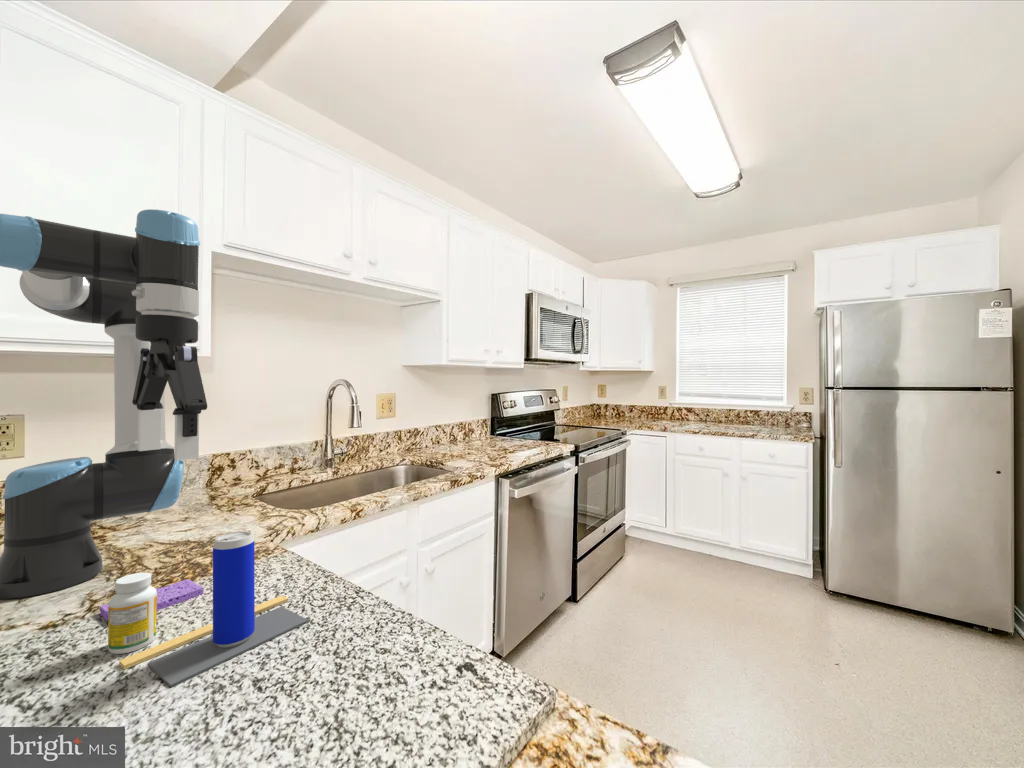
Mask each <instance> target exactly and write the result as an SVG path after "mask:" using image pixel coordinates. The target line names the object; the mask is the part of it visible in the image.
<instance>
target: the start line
mask: <svg viewBox="0 0 1024 768" xmlns="http://www.w3.org/2000/svg"><path fill="white" fill-rule="evenodd" d="M287 602H289V597H286V596H284V595H283V594H282V595H279V596H276V597H274V598H272V599H270V600H267V601H265V602H262V603H259V604H257V605H255V615H259V614H260V613H263V612H265V611H268V610H270V609H272V608H274V607H277V606H278V607H279V605H282V604H285V603H287ZM210 634H213V622H212V623H210V624H206V625H205V626H203V627H200V628H197V629H194V630H192V631H190V632H188V633H184V634H182V635H180V636H177V637H175V638H172V639H170V640H167V641H165V642H163V643H159V644H158V645H155V646H153V647H150V648H147V649H145V650H142V651H140V652H138V653H135V654H132V655H130V656H127V657H125V658H123V659H120V660H119V665H120V666H121V668H122V669H123V670H127V669H129V668H131V667H134V666H136V665H139V664H141V663H143V662H146V661H149V660H150V659H153V658H155V657H158V656H160V655H164V654H165V653H167V652H169V651H173V650H175V649H177V648H179V647H181V646H184V645H186V644H188V643H192V642H193V641H196V640H198V639H200V638H203V637H206V636H207V635H210Z"/></svg>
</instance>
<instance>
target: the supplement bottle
mask: <svg viewBox="0 0 1024 768" xmlns="http://www.w3.org/2000/svg"><path fill="white" fill-rule="evenodd" d="M114 582H115V583H114V592H115V594H114V595H113V596H112V597H111V598H110V599H109V600H108V604H109V605H108V620H107V622H108V624H107V625H108V626H107V629H108V630H107V632H108V633H107V635H108V636H107V637H108V638H107V644H108V645H107V647H108V652H109V653H111V654H114V655H122V654H124V655H125V654H128V653H132V652H135V651H139V650H140V649H143V648H145V647H147V646H148V645H150V644H151V643H152V642H153V641H155V639H156V637H157V618H158V617H157V616H158V615H157V613H158V610H157V591H156V589H157V588H155V587H154V586H152V585H151V584H152V573H150V572H137V573H131V574H127V575H125V576H122V577H120V578H118V579H116V581H114Z"/></svg>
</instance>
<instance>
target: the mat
mask: <svg viewBox="0 0 1024 768" xmlns="http://www.w3.org/2000/svg"><path fill="white" fill-rule="evenodd" d="M308 622H309V619H308V618H305V617H303V616H301V615H300V614H297V613H295V612H293V611H291V610H289V609H287V608H286V607H283V606H278V607H277V608H274V609H272V610H269V611H267V612H265V613H263V614H261V615H258V616H256V617H255V630H254V632H253V634H252V635H251V637H250V638H249V639H248V640H247V641H245V642H243V643H241V644H239V645H236V646H233V647H226V648H222V647H218V646H217V645H216V644H215V643H214V642H213V635H210V636H208V637H206V638H204V639H201V640H199V641H197V642H194V643H191V644H190V645H187V646H185V647H182V648H179V649H178V650H175V651H172V652H170V653H168V654H166V655H164V656H161V657H158V658H155V659H153V660H152V661H149V662H147V663H146V665H147V667H149V668H150V669H151V670H152V671H153V672H154V674H156V675H157V677H159V678H160V679H161V680H162V681H163V682H164V683H166V685H168V686H169V688H172V687H175V686H177V685H179V684H181V683H183V682H186V681H188V680H189V679H192V678H194V677H196V676H198V675H200V674H202V673H204V672H206V671H209V670H210V669H212V668H214V667H217V666H219V665H221V664H223V663H225V662H227V661H229V660H231V659H233V658H235V657H238V656H241V655H242V654H244V653H246V652H248V651H251V650H252V649H255V648H256V647H260V646H261V645H262V644H264V643H268V642H269V641H272V640H273V639H276V638H278V637H279V636H282V635H284V634H286V633H288V632H290V631H292V630H294V629H296V628H299V627H301V626H302V625H305V624H307V623H308ZM216 665H217V666H216Z"/></svg>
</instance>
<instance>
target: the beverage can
mask: <svg viewBox="0 0 1024 768" xmlns="http://www.w3.org/2000/svg"><path fill="white" fill-rule="evenodd" d="M212 545H213V546H212V623H213V633H212V636H213V642H214V643H215V644H216V645H217V646H218V647H222V648H226V647H233V646H236V645H239V644H241V643H243V642H245V641H247V640H248V639H249V638H250V637H251V635H252V634H253V632H254V630H255V606H256V605H255V597H256V596H255V591H256V590H255V538H254V535H253V533H252V532H251V531H245V530H244V531H234V532H228V533H225V534H222V535H218V536H217V537H216V538H215V539H214V542H213V544H212Z"/></svg>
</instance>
